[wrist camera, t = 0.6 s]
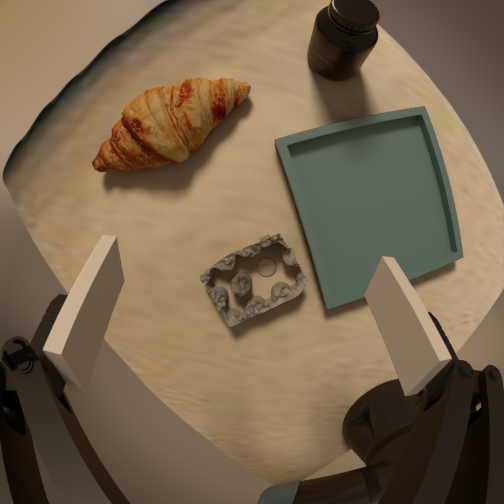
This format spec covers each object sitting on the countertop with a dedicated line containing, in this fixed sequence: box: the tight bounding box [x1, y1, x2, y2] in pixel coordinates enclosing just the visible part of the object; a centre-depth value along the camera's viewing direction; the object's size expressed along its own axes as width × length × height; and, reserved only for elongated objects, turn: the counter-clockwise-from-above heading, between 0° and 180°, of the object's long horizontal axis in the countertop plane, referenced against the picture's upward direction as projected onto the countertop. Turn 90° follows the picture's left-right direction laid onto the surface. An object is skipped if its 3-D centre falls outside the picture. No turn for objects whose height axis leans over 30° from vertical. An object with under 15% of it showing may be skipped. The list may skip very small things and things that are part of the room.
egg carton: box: [200, 233, 307, 327], centre depth 33 cm, size 11×8×4 cm
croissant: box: [92, 78, 251, 172], centre depth 30 cm, size 21×10×8 cm, turn 115°
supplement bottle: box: [307, 0, 380, 81], centre depth 24 cm, size 7×7×12 cm
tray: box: [275, 106, 463, 310], centre depth 31 cm, size 20×20×2 cm
